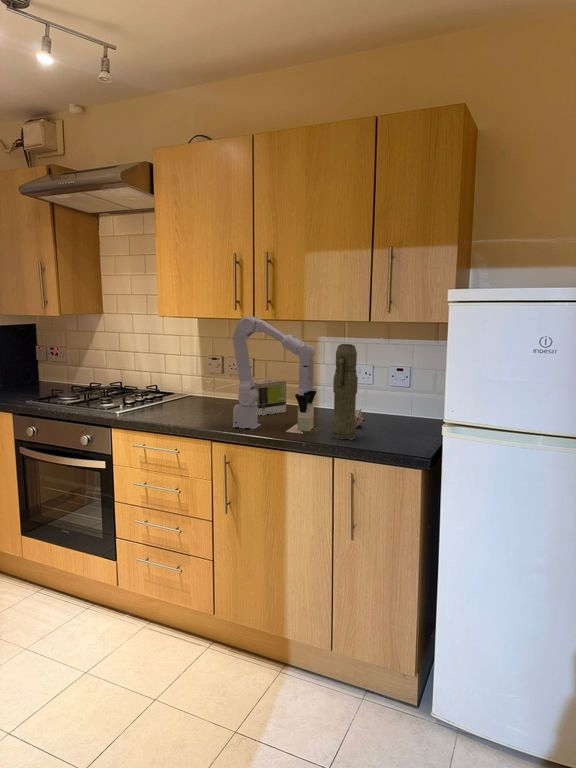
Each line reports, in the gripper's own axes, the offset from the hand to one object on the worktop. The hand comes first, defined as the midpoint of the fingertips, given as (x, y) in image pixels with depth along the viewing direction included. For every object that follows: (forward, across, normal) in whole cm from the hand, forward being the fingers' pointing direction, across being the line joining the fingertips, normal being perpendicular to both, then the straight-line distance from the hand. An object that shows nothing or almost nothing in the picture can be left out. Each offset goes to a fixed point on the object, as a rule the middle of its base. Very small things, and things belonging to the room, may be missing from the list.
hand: (305, 410), depth 211 cm
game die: (+8, +11, -17) cm, 22 cm away
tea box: (+8, +26, +26) cm, 38 cm away
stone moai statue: (+8, -7, -17) cm, 20 cm away
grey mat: (+8, 0, 0) cm, 8 cm away
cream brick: (+2, 0, 0) cm, 2 cm away
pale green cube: (+7, 0, 0) cm, 7 cm away
